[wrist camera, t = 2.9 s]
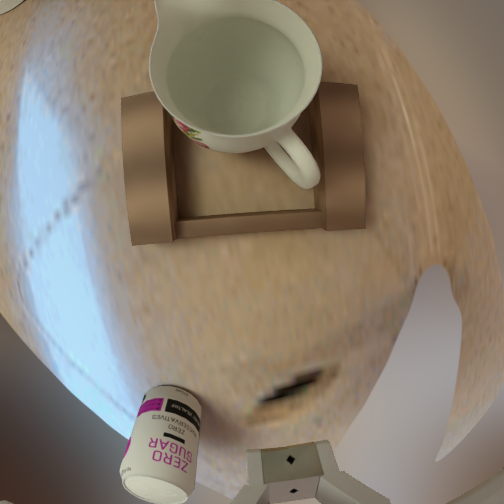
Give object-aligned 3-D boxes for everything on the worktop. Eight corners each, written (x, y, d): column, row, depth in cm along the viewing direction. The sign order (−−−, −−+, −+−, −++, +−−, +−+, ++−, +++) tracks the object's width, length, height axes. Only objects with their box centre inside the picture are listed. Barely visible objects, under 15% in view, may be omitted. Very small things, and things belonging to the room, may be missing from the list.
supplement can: (148, 419, 36) (127, 499, 22) (140, 378, 34) (107, 465, 20) (202, 425, 37) (196, 510, 22) (200, 385, 35) (189, 479, 20)
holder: (134, 106, 26) (121, 98, 22) (343, 94, 27) (357, 84, 23) (144, 236, 30) (132, 245, 26) (350, 221, 31) (365, 228, 27)
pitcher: (249, 215, 30) (261, 247, 16) (148, 83, 26) (94, 29, 12) (334, 155, 29) (405, 144, 15) (233, 27, 24) (234, -52, 11)
